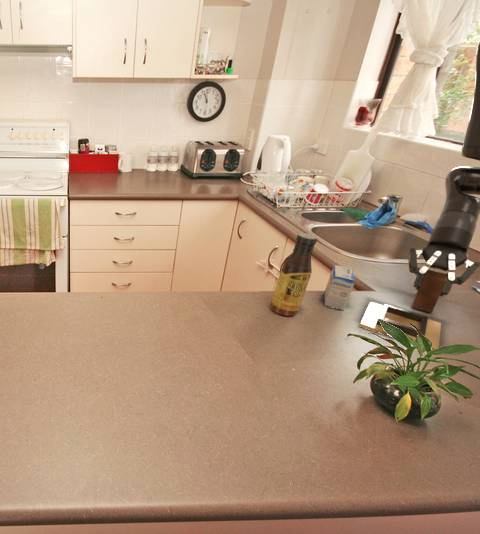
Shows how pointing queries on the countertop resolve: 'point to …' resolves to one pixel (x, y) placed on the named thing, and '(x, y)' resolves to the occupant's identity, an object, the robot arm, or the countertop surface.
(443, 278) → the pad block
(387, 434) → the countertop surface
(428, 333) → the back plate
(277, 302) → the sauce bottle
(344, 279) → the medicine box
